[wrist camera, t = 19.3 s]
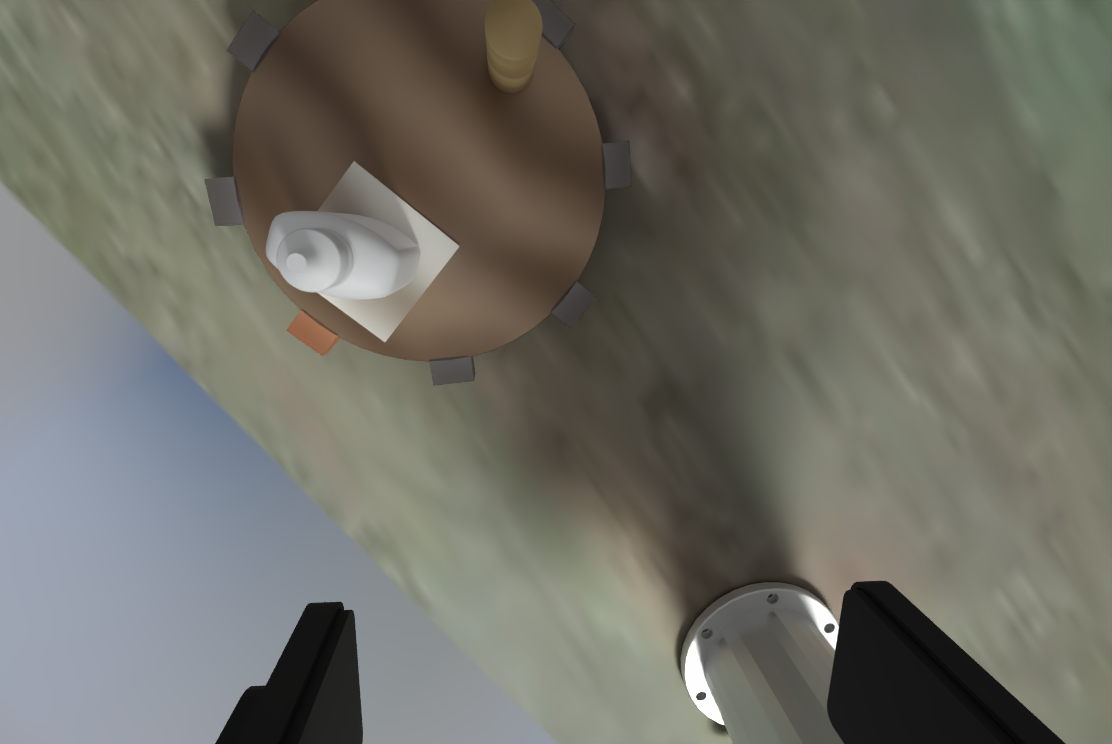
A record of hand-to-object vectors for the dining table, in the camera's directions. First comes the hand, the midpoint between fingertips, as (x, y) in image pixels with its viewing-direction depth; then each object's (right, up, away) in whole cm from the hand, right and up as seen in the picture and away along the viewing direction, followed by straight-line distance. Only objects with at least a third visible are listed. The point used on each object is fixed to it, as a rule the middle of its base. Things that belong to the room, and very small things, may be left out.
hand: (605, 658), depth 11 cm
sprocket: (-8, +16, +23) cm, 29 cm away
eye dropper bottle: (-11, +12, +22) cm, 27 cm away
